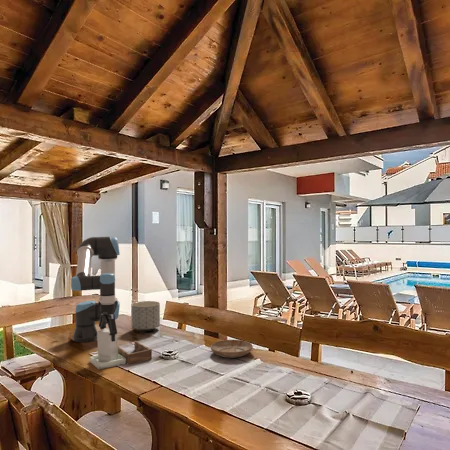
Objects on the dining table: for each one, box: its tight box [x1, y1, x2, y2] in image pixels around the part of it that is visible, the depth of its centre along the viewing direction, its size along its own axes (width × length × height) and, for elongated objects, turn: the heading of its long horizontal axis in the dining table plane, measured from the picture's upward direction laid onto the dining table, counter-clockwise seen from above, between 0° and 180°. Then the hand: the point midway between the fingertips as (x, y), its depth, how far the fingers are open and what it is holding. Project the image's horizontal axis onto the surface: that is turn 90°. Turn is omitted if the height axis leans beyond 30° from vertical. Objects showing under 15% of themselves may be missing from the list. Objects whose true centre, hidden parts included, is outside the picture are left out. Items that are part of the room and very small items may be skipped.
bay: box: [118, 340, 153, 365], centre depth 207 cm, size 20×13×5 cm, turn 37°
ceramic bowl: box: [210, 339, 253, 359], centre depth 210 cm, size 23×24×5 cm
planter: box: [130, 300, 161, 333], centre depth 260 cm, size 19×19×18 cm
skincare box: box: [96, 328, 119, 362], centre depth 198 cm, size 8×7×16 cm
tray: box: [89, 353, 127, 370], centre depth 197 cm, size 14×14×3 cm
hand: (107, 344), depth 197 cm, fingers open, 13 cm apart
